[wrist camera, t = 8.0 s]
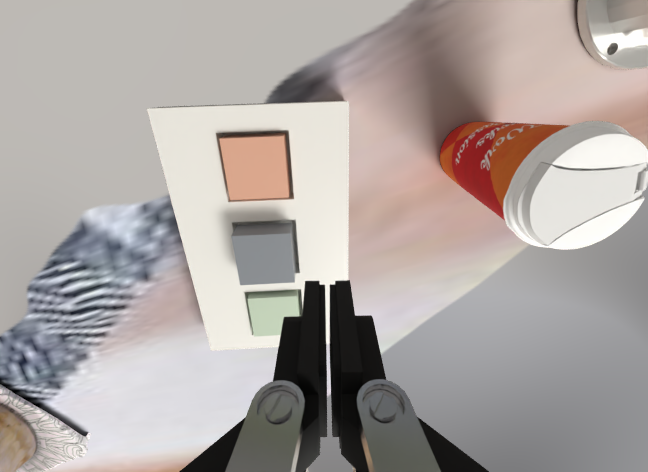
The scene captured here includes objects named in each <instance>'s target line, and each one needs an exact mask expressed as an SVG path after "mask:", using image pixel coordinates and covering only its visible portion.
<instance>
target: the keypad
mask: <svg viewBox="0 0 648 472" xmlns="http://www.w3.org/2000/svg"><path fill="white" fill-rule="evenodd" d="M147 112H148V115H149V119H150V123H151V127H152V131H153V134H154V138H155V141H156V145H157V149H158V153H159V157H160V160H161V164H162V168H163V172H164V175H165V179H166V183H167V187H168V191H169V194H170V198H171V202H172V206H173V209H174V213H175V217H176V221H177V224H178V228H179V232H180V236H181V239H182V243H183V247H184V251H185V254H186V258H187V262H188V266H189V269H190V273H191V277H192V281H193V284H194V288H195V292H196V296H197V299H198V303H199V307H200V311H201V315H202V318H203V322H204V326H205V330H206V333H207V337H208V341H209V345H210V348H211V351H216V350H233V349H249V348H266V347H279V342H280V336H281V335H273V336H255V337H254V333H253V328H252V322H251V316H250V311H249V305H248V295H249V292H259V291H278V290H296V289H299V300H300V312H301V316H302V312H303V300H304V288H305V281H320V285H325V305H326V344H330V284H335V281H341V280H348V198H349V101H321V102H293V103H264V104H236V105H209V106H208V105H207V106H180V107H158V108H148V109H147ZM267 133H286V142H287V154H288V166H289V179H290V194H289V197H288V198H265V199H243V200H230V197H229V191H228V186H227V180H226V174H225V169H224V163H223V157H222V152H221V146H220V140H219V139H220V138H222V137H224V136H226V135H241V134H267ZM276 223H292V230H293V242H294V254H295V266H296V273H295V282H294V283H275V284H256V285H240V281H239V276H238V271H237V265H236V260H235V254H234V249H233V243H232V238H231V236H232V234H233V232H234V230H235V228H236V226H237V225H255V224H276Z"/></svg>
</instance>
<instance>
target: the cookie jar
mask: <svg viewBox="0 0 648 472" xmlns="http://www.w3.org/2000/svg"><path fill="white" fill-rule="evenodd" d="M90 436H91V434H90V433H88V434H87V436H86V437H85V436H83V435H81V434H79V433H78V432H76V431H75V430H73V429H72V428H70V427H69V426H67V425H66V424H64V423H63V422H62V421H60V420H59V419H57V418H56V417H54V416H52V415H51V414H49V413H47V412H46V411H44V410H42V409H40V408H39V407H37V406H35V405H34V404H32V403H30V402H28V401H27V400H25V399H23V398H22V397H20V396H18V395H16V394H15V393H13V392H12V391H10V390H9V389H7V388H6V387H4V386H2V385H1V384H0V472H44V471H46V470H50V469H52V468H55V467H56V466H58V465H60V464H62V463H64V462H68V461H70V460H71V459H75V458H76V457H83V456H84V455H85V454H86V452H87V450H88V449H87V443H88V440H89V438H90Z"/></svg>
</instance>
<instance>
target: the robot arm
mask: <svg viewBox="0 0 648 472" xmlns="http://www.w3.org/2000/svg"><path fill="white" fill-rule="evenodd" d="M578 26H579V31H580V36H581V39H582V41H583V43H584V46H585V48H586V49H587V51H588V52H589V53H590V54H591V56H592V57H593V58H594V59H595V60H597V61H598V62H600V63H601V64H602V65H605V66H608V67H610V68H613V69H623V70H629V69H642V68H646V67H648V0H578ZM330 370H331V400H332V401H331V402H332V433H333V434H332V435H333V437H339V443H340V448H341V454H342V455H343V456H344V457H345V458H346V460H348V462H349V463H351V465H352V466H353V472H489V471H487V470H486V469H485V468H484V467H482V466H481V465H480V464H478V463H477V462H476V461H474V460H473V459H472V458H470V457H469V456H468V455H467V454H465V453H464V452H463V451H461V450H460V449H459V448H457V447H456V446H455V445H454V444H452V443H451V442H449V441H448V440H447V439H446V438H444V437H443V436H442V435H440V434H439V433H438V432H436V431H435V430H434V429H433V428H431V427H430V426H428V425H427V424H426V423H425V422H423V421H422V420H421V419H419V418H418V417H417V416H416V414H415V412H414V409H413V407H412V404H411V402H410V400H409V398H408V396H407V395H406V393H405V391H403V390H402V389H401V388H400V387H399V386H398V385H396V384H395V383H393V382H391V381H387V380H386V377H385V373H384V368H383V363H382V358H381V354H380V349H379V345H378V340H377V335H376V331H375V326H374V322H373V318H372V316H355V313H354V306H353V299H352V292H351V285H350V280H341V281H335V284H330ZM320 437H327V365H326V305H325V285H320V281H305V288H304V300H303V312H302V316H290V317H284V319H283V324H282V330H281V336H280V342H279V348H278V354H277V361H276V367H275V373H274V379H273V382H270V383H268V384H266V385H265V386H263V387H262V388H261V389H260V390H259V391H258V392H257V393H256V395H255V396H254V398H253V400H252V402H251V405H250V408H249V410H248V413H247V416H246V417H245V418H244V419H243V420H242V421H241V422H239V423H238V424H237V425H236V426H235V427H233V428H232V429H231V430H230V431H228V432H227V433H226V434H225V435H224V436H222V437H221V438H220V439H219V440H217V441H216V442H215V443H214V444H213V445H211V446H210V447H209V448H208V449H206V450H205V451H204V452H203V453H202V454H200V455H199V456H198V457H197V458H196V459H194V460H193V461H192V462H191V463H189V464H188V465H187V466H186V467H185V468H183V469H182V470H181V471H180V472H308V467H309V466H310V465H311V464H312V462H313V461H314V460H315V459H316V458H317V457H318V456H319V455H320Z"/></svg>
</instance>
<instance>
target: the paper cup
mask: <svg viewBox="0 0 648 472" xmlns="http://www.w3.org/2000/svg"><path fill="white" fill-rule="evenodd" d="M647 162H648V150H647V148H646V147H645V146H644V145H643V144H642V143H641V142H640V141H639V140H638V139H637V138H635V137H633V136H632V135H630V134H629V133H628V132H627V131H626V130H625V129H623V128H622V127H620V126H618V125H616V124H613V123H610V122H603V121H587V122H582V123H578V124H574V125H571V126H566V125H544V124H523V123H500V122H471V123H466V124H463V125H461V126H459V127H457V128H456V129H454V130H453V131H452V132H451V133H450V134H449V135H448V136H447V138H446V139H445V141H444V143H443V145H442V147H441V151H440V163H441V166H442V169H443V170H444V172H445V173H446V174H447V175H448V176H449V177H450V178H451V179H452V180H454V181H455V182H456V183H457V184H459V185H460V186H461V187H462V188H464V189H465V190H466V191H467V192H469V193H470V194H471V195H473V196H474V197H475V198H476V199H478V200H479V201H480V202H482V203H483V204H484V205H486V206H487V207H488V208H489V209H491V210H492V211H493V212H495V213H496V214H497V215H499V216H500V217H501V218H503V219H504V220H505V222H506V225H507V226H508V227H509V228H510V229H511V230H512V231H513V232H514V233H515V234H516V235H517V236H518V237H519V238H520V239H522V240H523V241H525V242H527V243H529V244H531V245H535V246H539V247H550V248H555V249H577V248H581V247H585V246H588V245H591V244H594V243H596V242H599V241H601V240H602V239H604V238H606V237H608V236H609V235H611V234H612V233H614V232H615V231H617V230H618V229H619V228H620V227H622V226H623V225H624V224H625V223H626V222H627V221H628V220H629V219H630V218H631V217H632V216H633V215H634V213H635V212H636V211H637V209H638V208H639V207H640V205H641V204H642V202H643V200H644V197H643V196H641V195H642V191H643V190H645V189H646V187H647V182H648V169H647V170H646V168H647Z"/></svg>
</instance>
